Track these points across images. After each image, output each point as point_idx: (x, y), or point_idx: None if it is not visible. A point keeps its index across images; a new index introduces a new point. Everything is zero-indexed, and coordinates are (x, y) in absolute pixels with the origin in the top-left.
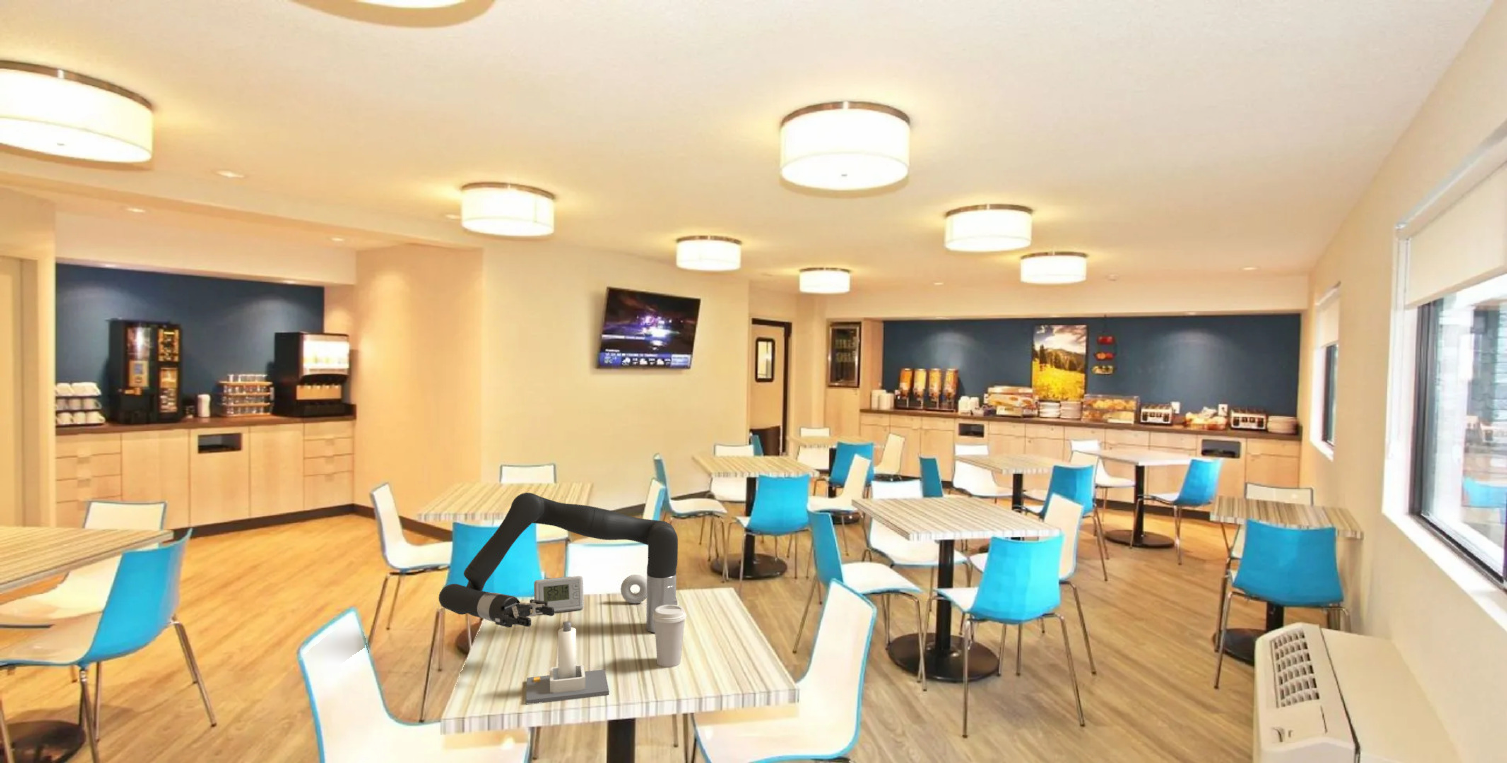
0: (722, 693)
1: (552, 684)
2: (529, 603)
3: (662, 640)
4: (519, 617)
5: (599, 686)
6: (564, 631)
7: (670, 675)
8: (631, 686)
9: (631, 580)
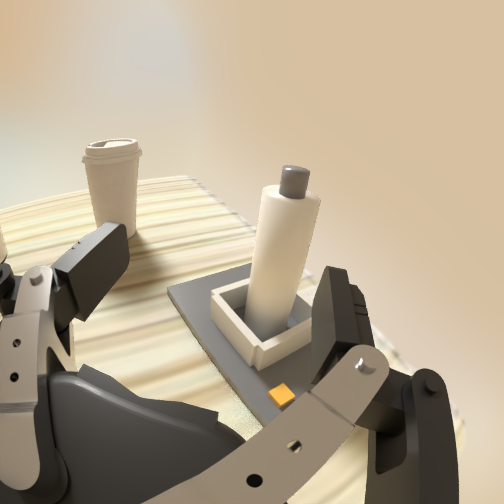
0: (206, 194)
1: None
2: (8, 360)
3: (134, 191)
4: (354, 342)
5: (247, 275)
6: (305, 196)
7: (165, 225)
8: (214, 251)
9: None
